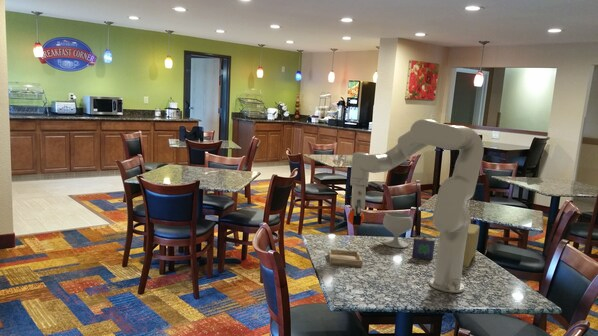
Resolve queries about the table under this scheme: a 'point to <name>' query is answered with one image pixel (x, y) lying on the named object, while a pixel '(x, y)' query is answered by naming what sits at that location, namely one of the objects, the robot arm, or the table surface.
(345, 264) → the tray
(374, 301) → the table surface
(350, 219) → the clementine
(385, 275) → the table surface
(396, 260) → the table surface
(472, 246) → the cheese
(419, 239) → the flask
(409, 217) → the chalice
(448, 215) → the robot arm
